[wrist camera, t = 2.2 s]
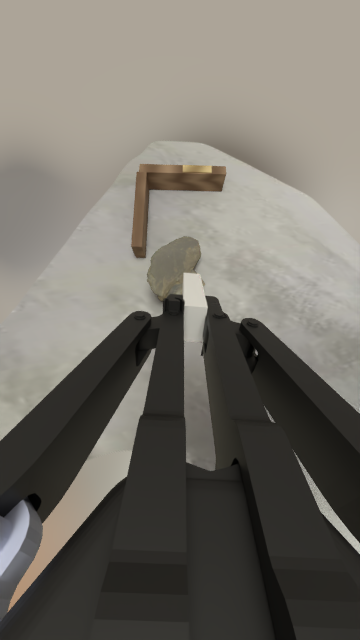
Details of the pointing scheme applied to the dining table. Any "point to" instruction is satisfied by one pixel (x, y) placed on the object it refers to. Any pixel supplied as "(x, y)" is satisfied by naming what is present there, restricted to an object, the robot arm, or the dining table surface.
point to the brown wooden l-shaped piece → (168, 180)
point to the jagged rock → (173, 266)
